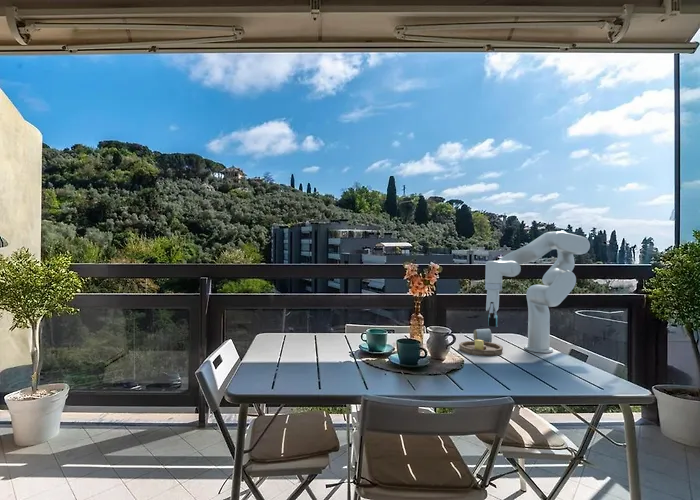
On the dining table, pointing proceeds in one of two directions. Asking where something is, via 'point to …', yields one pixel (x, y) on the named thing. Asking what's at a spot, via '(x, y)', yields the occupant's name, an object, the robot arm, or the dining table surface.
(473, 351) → the groove tray
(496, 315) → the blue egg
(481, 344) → the ochre bead
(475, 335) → the ceramic mug
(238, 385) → the dining table surface
